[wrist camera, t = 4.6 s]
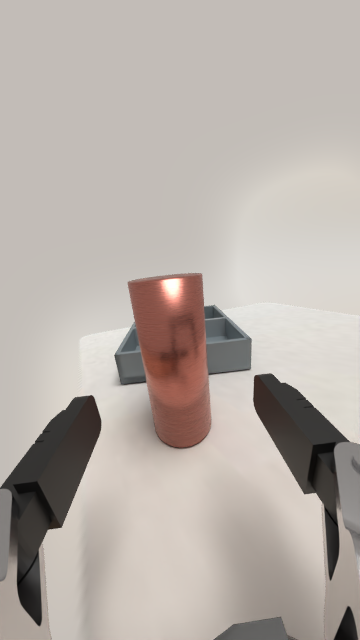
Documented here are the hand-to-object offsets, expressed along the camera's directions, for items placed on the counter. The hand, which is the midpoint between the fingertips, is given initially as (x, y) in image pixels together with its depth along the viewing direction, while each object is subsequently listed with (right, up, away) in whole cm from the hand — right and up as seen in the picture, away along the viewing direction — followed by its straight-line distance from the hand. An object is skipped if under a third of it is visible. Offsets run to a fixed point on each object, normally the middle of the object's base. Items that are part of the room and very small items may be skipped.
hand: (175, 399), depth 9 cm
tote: (+1, -1, +25) cm, 25 cm away
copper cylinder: (+1, -6, +9) cm, 11 cm away
